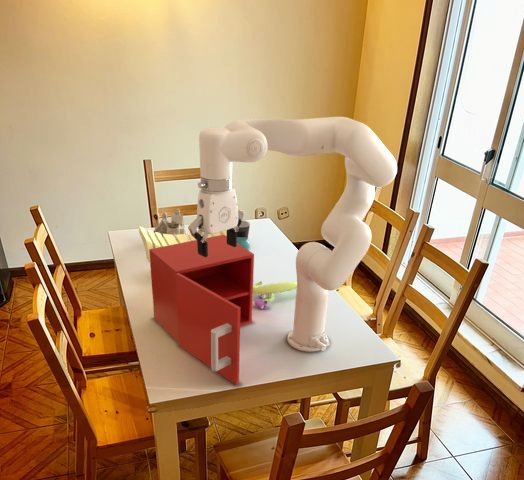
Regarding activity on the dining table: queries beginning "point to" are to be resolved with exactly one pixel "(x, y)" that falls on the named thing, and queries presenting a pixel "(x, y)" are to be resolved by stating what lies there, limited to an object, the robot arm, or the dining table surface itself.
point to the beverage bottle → (243, 238)
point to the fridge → (201, 277)
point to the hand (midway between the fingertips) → (217, 250)
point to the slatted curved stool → (166, 239)
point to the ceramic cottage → (171, 225)
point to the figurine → (271, 291)
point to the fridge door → (209, 327)
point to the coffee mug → (245, 226)
